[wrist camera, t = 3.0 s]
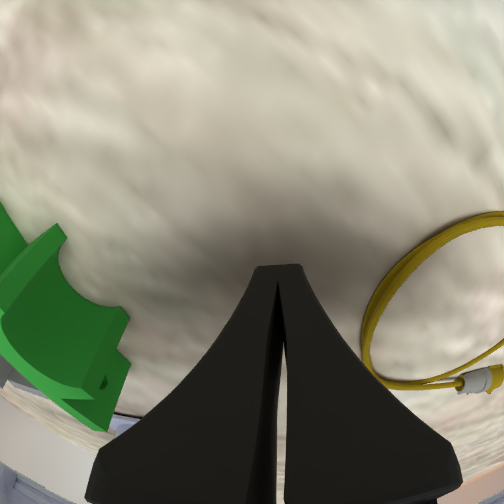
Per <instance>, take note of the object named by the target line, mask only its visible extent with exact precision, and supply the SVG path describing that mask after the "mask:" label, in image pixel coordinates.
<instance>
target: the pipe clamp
mask: <svg viewBox="0 0 504 504" xmlns="http://www.w3.org/2000/svg"><path fill="white" fill-rule="evenodd" d="M66 239H67V237H66V235H65V234H64V232H63V231H62V229H61V228H60V226H59V225H58V223H56V224H55V225H54V226H52V227H51V228H50V229H48V230H47V231H46V232H44V233H43V234H42V235H40V236H39V237H38V238H36V239H35V240H34V241H33V242H31V243H30V244H29V245H28V244H27V243H26V241H25V240H24V238H23V237H22V235H21V234H20V232H19V231H18V229H17V228H16V226H15V225H14V223H13V222H12V220H11V218H10V217H9V215H8V214H7V212H6V210H5V209H4V207H3V205H2V204H1V202H0V354H1V355H2V356H3V357H4V358H5V359H6V360H7V361H8V362H9V363H10V364H11V365H12V366H13V367H14V368H15V369H16V370H17V371H18V372H19V373H20V374H21V375H23V376H24V377H25V378H26V379H27V380H28V381H29V382H30V383H32V384H33V385H34V386H35V387H36V388H37V389H39V390H40V391H41V392H42V393H43V394H45V395H46V396H47V397H48V398H49V399H51V400H52V401H53V402H55V403H56V404H57V405H58V406H60V407H61V408H62V409H64V410H65V411H66V412H68V413H69V414H70V415H72V416H73V417H75V418H76V419H77V420H79V421H80V422H82V423H83V424H85V425H86V426H88V427H89V428H91V429H92V430H94V431H102V432H107V431H108V428H109V425H110V422H111V419H112V416H113V413H114V410H115V407H116V404H117V401H118V398H119V395H120V393H121V390H122V387H123V384H124V381H125V379H126V376H127V373H128V370H129V368H130V365H131V363H130V362H129V361H128V360H127V359H126V358H125V357H124V356H123V355H122V354H121V353H120V352H119V351H118V350H117V349H116V348H117V346H118V343H119V341H120V339H121V337H122V334H123V332H124V330H125V328H126V326H127V323H128V321H129V319H130V317H129V316H128V315H127V313H126V312H125V311H124V310H123V309H122V308H121V306H117V307H104V306H100V305H97V304H94V303H92V302H90V301H88V300H86V299H85V298H83V297H82V296H80V295H79V294H78V293H77V292H76V291H75V290H74V289H73V288H72V287H71V286H70V285H69V284H68V282H67V281H66V279H65V278H64V276H63V274H62V272H61V269H60V266H59V261H58V252H59V248H60V246H61V244H62V243H63V242H64V241H65V240H66Z"/></svg>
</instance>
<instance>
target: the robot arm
mask: <svg viewBox="0 0 504 504" xmlns="http://www.w3.org/2000/svg"><path fill="white" fill-rule="evenodd" d="M283 342H284V350H285V358H286V366H287V433H286V462H285V484H284V502H285V504H437V498H439V497H441V496H443V495H445V494H448V493H450V492H452V491H454V490H456V489H457V488H459V487H460V486H461V484H462V483H463V479H462V474H461V469H460V465H459V462H458V459H457V457H456V454H455V452H454V449H453V447H452V444H451V443H450V442H449V441H448V440H446V439H445V438H444V437H442V436H441V435H440V434H438V433H437V432H436V431H434V430H433V429H432V428H430V427H429V426H428V425H427V424H425V423H424V422H423V421H422V420H421V419H419V418H418V417H417V416H416V415H415V414H414V413H412V412H411V411H410V410H409V409H408V408H407V407H406V406H404V405H403V404H402V403H401V402H400V401H399V400H398V399H397V398H396V397H395V396H394V395H393V394H392V393H391V392H390V391H389V390H388V389H387V388H386V387H385V386H384V385H383V384H382V383H381V382H380V381H379V380H378V379H377V378H376V377H375V376H374V375H373V374H372V373H371V372H370V371H369V369H368V368H367V367H366V366H365V365H364V364H363V363H362V362H361V360H360V359H359V358H358V357H357V356H356V354H355V353H354V352H353V351H352V349H351V348H350V347H349V346H348V344H347V343H346V342H345V340H344V339H343V338H342V336H341V335H340V333H339V332H338V331H337V329H336V328H335V326H334V325H333V323H332V322H331V320H330V319H329V317H328V316H327V314H326V313H325V311H324V309H323V308H322V306H321V304H320V303H319V301H318V299H317V298H316V296H315V294H314V292H313V290H312V288H311V286H310V284H309V282H308V280H307V278H306V276H305V273H304V270H303V267H302V266H301V265H300V264H299V263H298V264H284V265H270V266H258V267H257V268H256V269H255V270H254V273H253V276H252V278H251V280H250V283H249V285H248V287H247V289H246V291H245V293H244V295H243V297H242V299H241V300H240V302H239V304H238V306H237V307H236V309H235V311H234V313H233V314H232V316H231V318H230V319H229V321H228V322H227V324H226V325H225V327H224V328H223V330H222V331H221V333H220V334H219V336H218V337H217V339H216V340H215V342H214V343H213V344H212V346H211V347H210V348H209V350H208V351H207V352H206V354H205V355H204V356H203V357H202V359H201V360H200V361H199V362H198V363H197V365H196V366H195V367H194V368H193V369H192V370H191V372H190V373H189V374H188V375H187V376H186V377H185V378H184V379H183V380H182V381H181V382H180V384H179V385H178V386H177V387H176V388H175V389H174V390H173V391H172V392H171V393H170V394H169V395H168V396H167V397H165V398H164V399H163V400H162V401H161V402H160V403H159V404H158V405H156V406H155V407H154V408H153V409H152V410H151V411H150V412H149V413H147V414H146V415H145V416H144V417H143V418H142V419H137V418H131V417H126V416H120V415H115V414H113V416H112V419H111V422H110V425H109V427H111V428H112V429H113V430H114V431H115V432H116V433H115V437H114V439H113V440H112V441H110V442H109V443H107V444H106V445H104V446H103V447H101V448H100V449H99V451H98V454H97V456H96V459H95V461H94V463H93V467H92V471H91V474H90V478H89V482H88V486H87V489H86V493H85V497H84V498H85V499H86V501H87V502H90V503H92V504H276V477H277V408H278V396H279V386H280V376H281V365H282V354H283ZM0 504H76V503H73V502H71V501H69V500H67V499H65V498H63V497H60V496H59V495H57V494H54V493H53V492H50V491H49V490H47V489H45V487H44V486H42V485H40V484H38V483H36V482H35V481H33V480H31V479H29V478H28V477H26V476H24V475H22V474H21V473H19V472H17V471H15V470H13V469H11V468H10V467H8V466H6V465H5V464H4V463H2V462H0ZM476 504H504V489H503V490H501V491H500V492H498V493H496V494H494V495H492V496H490V497H488V498H486V499H484V500H482V501H480V502H478V503H476Z"/></svg>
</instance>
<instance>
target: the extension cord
mask: <svg viewBox="0 0 504 504" xmlns="http://www.w3.org/2000/svg"><path fill="white" fill-rule="evenodd" d="M492 226H504V212H498V211H497V212H491V213H485V214H481V215H478V216H475V217H472V218H469V219H467V220H465V221H463V222H460V223H458V224H456V225H454V226H452V227H450V228H448V229H447V230H445V231H443V232H441V233H440V234H438V235H436V236H434V237H432V238H431V239H429V240H427V241H426V242H424V243H423V244H421V245H419V246H418V247H417V248H415V249H414V250H413V251H412V252H410V253H409V254H408V255H407V256H405V257H404V258H403V259H402V260H401V261H400V262H399V263H398V264H396V266H395V267H394V268H393V269H392V270H391V271H390V272H389V273H388V275H387V276H386V277H385V278H384V279H383V281H382V282H381V283H380V285H379V287H378V288H377V290H376V291H375V293H374V295H373V297H372V299H371V301H370V303H369V305H368V308H367V311H366V314H365V317H364V321H363V326H362V337H361V343H362V359H363V364H364V365H365V366H366V367H367V368H368V369H369V371H370V372H371V373H372V374H373V375H374V376H375V377H376V378H377V379H378V380H379V381H380V382H381V383H382V384H383V385H384V386H385V387H386V388H388V389H394V390H430V389H440V388H450V387H455V389H456V391H457V392H458V393H457V394H463V393H467V395H468V394H469V393H481V392H485V391H486V392H487V393H488V394H491V392H492V390H493V389H495V388H498V387H499V386H500V385H501V384H502V383H503V380H504V366H503V365H502V364H501V365H494V366H489V367H488V368H481V369H478V370H475V371H471V372H468V373H466V374H463V375H460V376H458V377H457V379H456V380H455V382H448V383H437V384H427V383H431V382H434V381H438V380H440V379H443V378H446V377H448V376H451V375H453V374H455V373H457V372H459V371H461V370H464V369H466V368H468V367H469V366H471V365H473V364H475V363H476V362H478V361H480V360H481V359H483V358H485V357H486V356H488V355H489V354H491V353H492V352H494V351H495V350H497V349H498V348H500V347H501V346H503V345H504V339H503V340H502V341H500V342H499V343H498V344H496V345H495V346H494V347H492V348H491V349H489V350H488V351H486V352H485V353H483V354H481V355H480V356H478V357H477V358H475V359H473V360H472V361H470V362H468V363H466V364H464V365H462V366H460V367H458V368H456V369H454V370H452V371H449V372H447V373H444V374H442V375H439V376H436V377H432V378H429V379H424V380H420V381H413V382H392V381H388V380H385V379H382V378H380V377H379V376H378V375H376V374H375V372H374V370H373V367H372V363H371V359H370V353H369V352H370V343H371V339H372V336H373V332H374V330H375V327H376V325H377V323H378V321H379V318H380V316H381V315H382V313H383V311H384V309H385V308H386V306H387V304H388V303H389V301H390V300H391V298H392V297H393V296H394V294H395V293H396V291H397V290H398V288H399V287H400V286H401V285H402V284H403V283H404V281H405V280H406V279H407V278H408V277H409V275H410V274H411V273H412V272H413V271H414V270H415V269H416V268H417V267H418V266H419V265H420V264H421V263H422V262H423V261H424V260H425V259H427V258H428V257H429V256H430V255H431V254H433V253H434V252H435V251H436V250H437V249H439V248H440V247H442V246H443V245H445V244H446V243H448V242H449V241H451V240H452V239H454V238H456V237H458V236H460V235H462V234H465V233H468V232H471V231H474V230H477V229H480V228H486V227H492ZM423 384H425V385H423Z"/></svg>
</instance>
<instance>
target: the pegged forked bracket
mask: <svg viewBox="0 0 504 504" xmlns="http://www.w3.org/2000/svg"><path fill="white" fill-rule="evenodd" d="M7 380H8V381H9V382H10V383H11V384H12V385H13V386H14V387H16V388H19V389H21V390H24V391H27V392H30V393H32V394H35V395H38V396H41V397H44V398H47V399H49V398H48V397H47V396H46V395H45V394H43V393H42V392H41V391H40V390H39V389H37V388H36V387H35V386H34V385H33V384H32V383H30V382H29V381H28V380H27V379H26V378H25V377H24V376H23V375H21V374H20V373H19V372H18V371H17V370H16V369H15V368H14V367H13V366H12V365H11V364H10V363H9V362H8V361H7V360H6V359H5V358H4V357H3V356H2V355H1V354H0V388H2V389H3V387H4V385H5V383H6V381H7Z"/></svg>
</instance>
